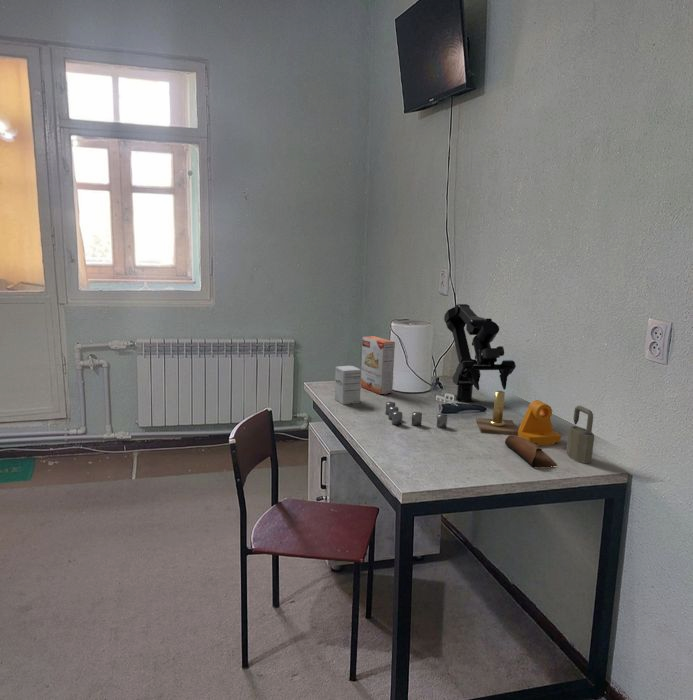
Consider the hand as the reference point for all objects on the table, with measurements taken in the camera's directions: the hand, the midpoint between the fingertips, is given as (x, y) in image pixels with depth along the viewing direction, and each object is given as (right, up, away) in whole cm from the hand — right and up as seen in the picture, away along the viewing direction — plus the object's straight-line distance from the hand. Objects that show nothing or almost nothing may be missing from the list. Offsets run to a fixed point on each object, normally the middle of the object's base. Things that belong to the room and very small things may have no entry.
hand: (491, 389), depth 199 cm
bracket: (+10, -15, -17) cm, 25 cm away
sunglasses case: (+4, -17, -30) cm, 35 cm away
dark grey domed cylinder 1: (-34, -9, +4) cm, 35 cm away
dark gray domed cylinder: (-26, -11, -7) cm, 29 cm away
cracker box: (-37, -3, +35) cm, 51 cm away
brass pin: (0, -11, -6) cm, 13 cm away
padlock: (+17, -18, -31) cm, 40 cm away
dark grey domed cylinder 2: (-33, -10, -1) cm, 35 cm away
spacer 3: (-33, -11, -7) cm, 35 cm away
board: (0, -12, -6) cm, 14 cm away
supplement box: (-49, -6, +18) cm, 52 cm away
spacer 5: (-18, -12, -8) cm, 23 cm away
